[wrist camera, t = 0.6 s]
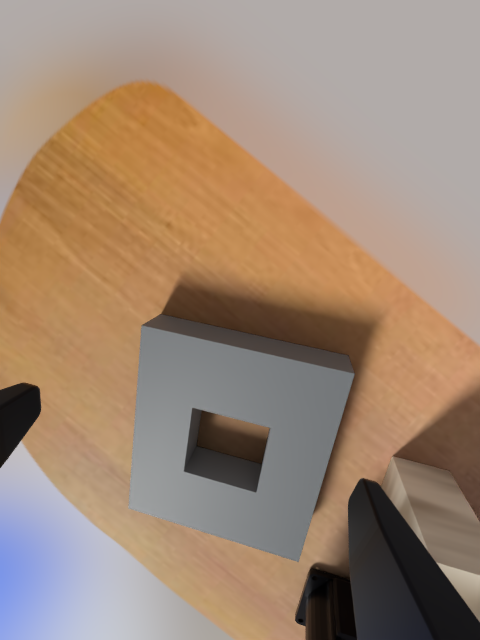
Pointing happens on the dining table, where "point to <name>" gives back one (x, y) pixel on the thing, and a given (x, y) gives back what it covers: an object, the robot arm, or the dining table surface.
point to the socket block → (243, 404)
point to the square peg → (439, 522)
